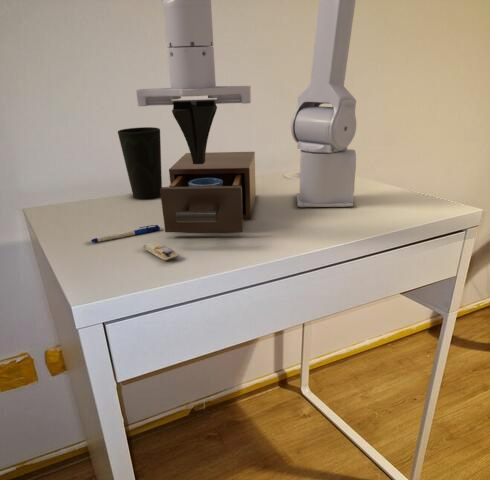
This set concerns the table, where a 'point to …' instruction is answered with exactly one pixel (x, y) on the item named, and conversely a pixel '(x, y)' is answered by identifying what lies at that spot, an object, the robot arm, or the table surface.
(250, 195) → the cabinet
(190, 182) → the small cup
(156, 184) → the cup
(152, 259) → the table surface
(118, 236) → the ballpoint pen
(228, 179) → the drawer
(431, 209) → the table surface
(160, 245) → the granola bar
